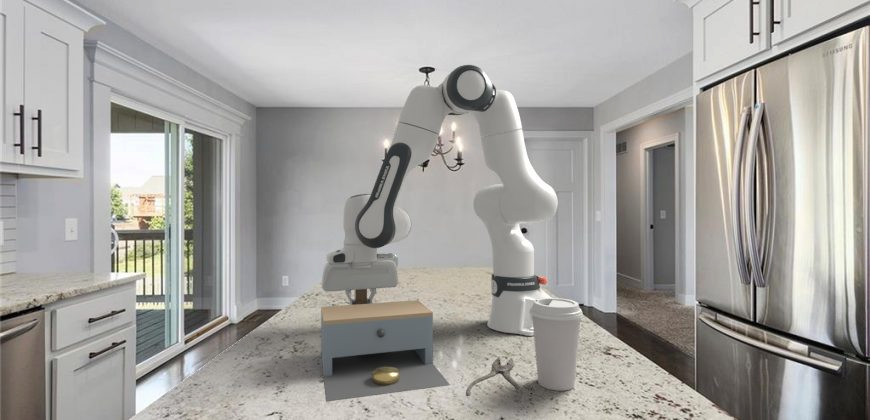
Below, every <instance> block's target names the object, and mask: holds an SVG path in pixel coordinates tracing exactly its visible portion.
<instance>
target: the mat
mask: <svg viewBox="0 0 870 420" xmlns="http://www.w3.org/2000/svg"><path fill="white" fill-rule="evenodd" d="M380 367H394V368H397V369H398V370H399V381H398V382H397V383H395V384H393V385H387V386H381V385H376V384H374V383H373V382H372V372H373V370H375V369H377V368H380ZM323 381H324V390H325V391H324V392H325V401H326V402H333V401H341V400H348V399H355V398H364V397H371V396H378V395H379V396H380V395H386V394H392V393H393V394H394V393H401V392H408V391H410V392H411V391H415V390H422V389H423V390H424V389H431V388H439V387H446V386H447V387H448V386H450V385H451V383H449V380H447V378H445V376H444V375H443V374H442V373H441V372H440V371H439V369H438V368H437V367H436V366H435V364H434V363H433V364H425V363H424V362H423V361H422V359H421V358H420V357H419V355H418V354H417V353H416V351H415V350H414V349H412V350H403V351H393V352H383V353H374V354H364V355H354V356H345V357H335V358H332V375H330V376H324V375H323Z"/></svg>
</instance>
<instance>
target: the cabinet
mask: <svg viewBox="0 0 870 420" xmlns="http://www.w3.org/2000/svg"><path fill="white" fill-rule="evenodd" d="M320 310H321V311H320V313H321V315H320V316H321V317H320V325H321V327H320V329H321V331H320V334H321V335H320V336H321V343H320V345H321V346H320V347H321V349H320V350H321V351H320V354H321V364H322V372H323V377H324V376H330V375H332V358H335V357H345V356H354V355H364V354H374V353H383V352H393V351H403V350H412V349H414V350H415V351H416V353H417V354H418V355H419V357H420V358H421V359H422V361H423V362H424V363H425V364H434V342H433V341H434V327H433V326H434V320H433V319H434V315H433V313H434V312H433V311H432V310H430V309H429V308H428V307H427V306H426V305H425V304H423V303H422V302H421V301H419V300H418V299H415V300H403V301H402V300H401V301H389V302H372V303H371V304H357V305H349V304H346V305H345V304H344V305H333V306H331V305H330V306H328V305H327V306H320Z"/></svg>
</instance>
